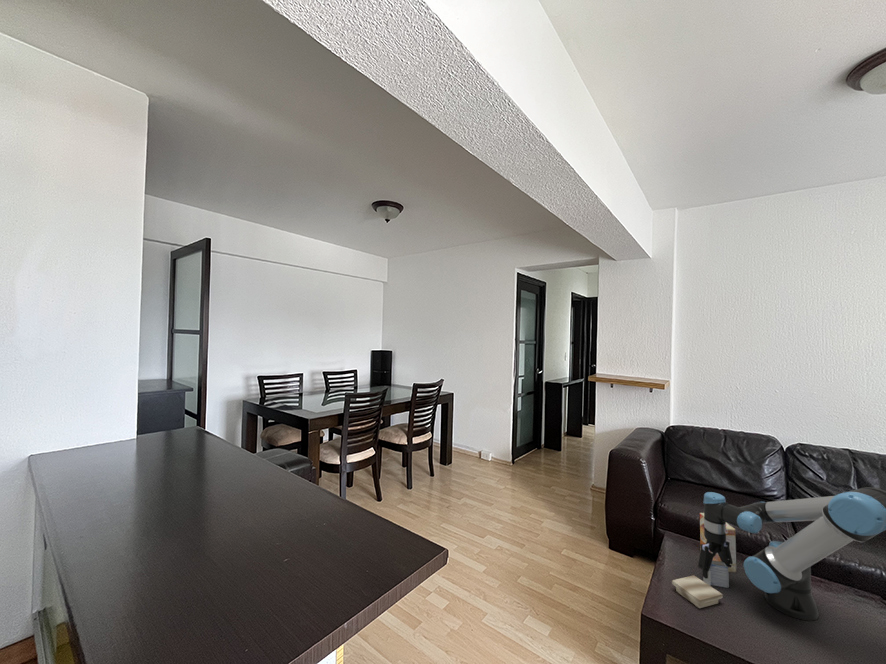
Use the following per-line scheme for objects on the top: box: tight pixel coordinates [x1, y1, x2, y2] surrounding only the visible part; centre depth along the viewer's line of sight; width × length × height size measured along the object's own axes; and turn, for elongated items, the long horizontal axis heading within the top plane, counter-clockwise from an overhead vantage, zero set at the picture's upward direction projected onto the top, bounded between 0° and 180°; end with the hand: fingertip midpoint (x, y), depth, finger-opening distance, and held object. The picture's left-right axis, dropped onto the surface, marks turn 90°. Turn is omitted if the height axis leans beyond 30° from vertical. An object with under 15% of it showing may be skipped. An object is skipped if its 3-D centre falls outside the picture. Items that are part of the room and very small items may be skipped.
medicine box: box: [709, 560, 730, 589], centre depth 153 cm, size 8×4×9 cm, turn 71°
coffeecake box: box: [699, 512, 737, 573], centre depth 168 cm, size 15×7×20 cm, turn 174°
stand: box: [671, 574, 723, 609], centre depth 145 cm, size 12×12×4 cm
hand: (715, 582), depth 153 cm, fingers open, 9 cm apart
